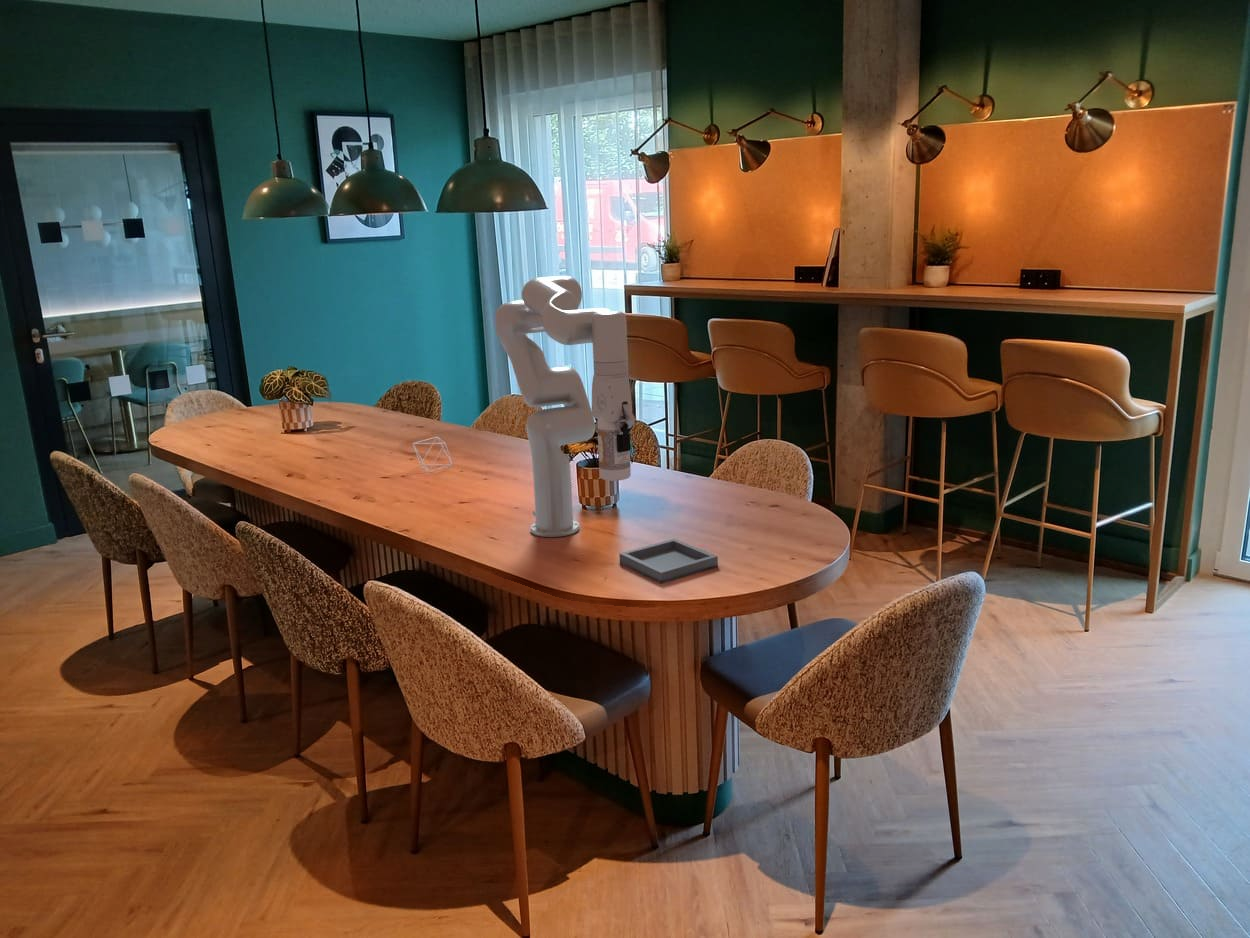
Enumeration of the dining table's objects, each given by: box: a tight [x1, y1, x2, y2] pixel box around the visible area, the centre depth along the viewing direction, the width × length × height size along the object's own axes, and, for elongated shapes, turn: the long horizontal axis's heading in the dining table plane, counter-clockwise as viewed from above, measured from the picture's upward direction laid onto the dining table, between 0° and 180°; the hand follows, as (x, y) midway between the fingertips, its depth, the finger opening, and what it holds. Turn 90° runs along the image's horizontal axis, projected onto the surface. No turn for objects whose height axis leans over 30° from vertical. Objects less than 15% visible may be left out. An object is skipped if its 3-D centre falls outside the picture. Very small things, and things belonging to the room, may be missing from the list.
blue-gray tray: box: [618, 538, 719, 584], centre depth 218 cm, size 16×16×2 cm
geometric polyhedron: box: [412, 436, 453, 473], centre depth 312 cm, size 12×11×9 cm
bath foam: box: [597, 417, 631, 482], centre depth 211 cm, size 7×7×20 cm
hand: (614, 447), depth 212 cm, fingers closed on bath foam, 7 cm apart
